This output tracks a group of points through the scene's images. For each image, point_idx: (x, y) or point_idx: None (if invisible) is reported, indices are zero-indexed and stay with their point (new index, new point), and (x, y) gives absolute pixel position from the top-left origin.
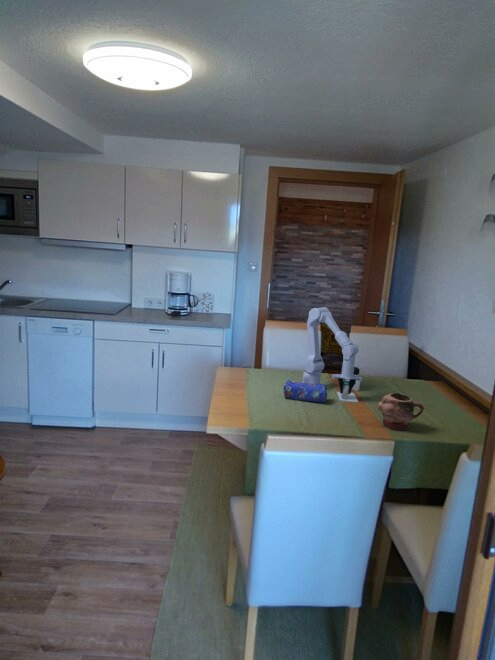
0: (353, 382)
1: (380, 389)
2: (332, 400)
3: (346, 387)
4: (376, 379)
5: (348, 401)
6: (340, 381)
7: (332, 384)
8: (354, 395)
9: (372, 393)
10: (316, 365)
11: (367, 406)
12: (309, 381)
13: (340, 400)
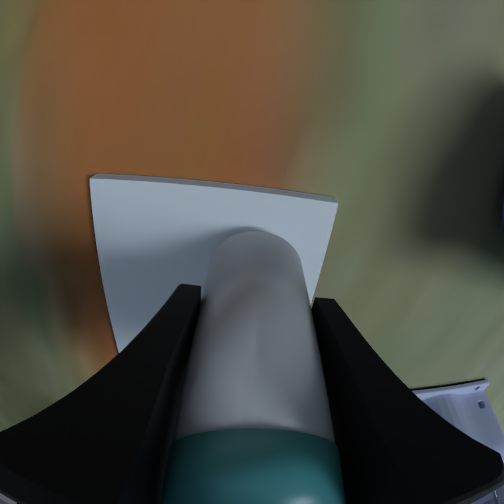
0: (30, 494)
1: (12, 401)
2: (418, 216)
3: (265, 380)
4: None
5: (220, 183)
6: (498, 484)
7: None
8: (122, 346)
9: (23, 373)
10: None
11: (24, 80)
12: (478, 436)
13: (333, 201)
